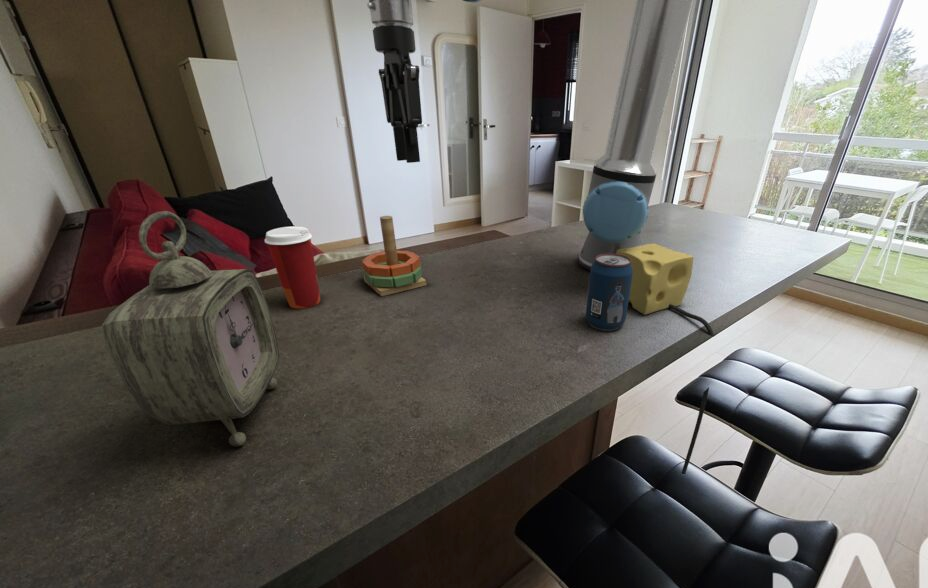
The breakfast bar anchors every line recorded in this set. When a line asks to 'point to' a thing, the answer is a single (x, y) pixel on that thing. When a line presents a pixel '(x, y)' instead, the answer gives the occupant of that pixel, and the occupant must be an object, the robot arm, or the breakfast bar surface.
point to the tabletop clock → (194, 339)
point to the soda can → (609, 291)
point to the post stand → (392, 258)
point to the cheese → (657, 277)
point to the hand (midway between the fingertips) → (408, 160)
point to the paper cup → (295, 265)
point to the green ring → (394, 278)
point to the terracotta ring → (392, 270)
